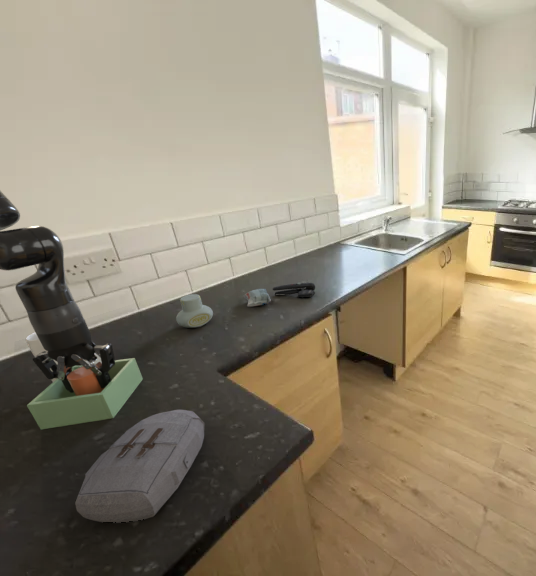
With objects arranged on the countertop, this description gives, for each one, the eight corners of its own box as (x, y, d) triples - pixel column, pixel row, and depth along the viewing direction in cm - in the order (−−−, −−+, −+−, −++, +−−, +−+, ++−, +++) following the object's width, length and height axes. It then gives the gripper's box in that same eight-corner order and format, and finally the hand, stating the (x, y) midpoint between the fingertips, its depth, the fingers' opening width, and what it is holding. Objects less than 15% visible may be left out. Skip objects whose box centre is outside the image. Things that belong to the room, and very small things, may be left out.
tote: (40, 429, 67) (26, 405, 65) (82, 387, 79) (71, 365, 77) (113, 418, 70) (102, 394, 67) (143, 379, 82) (134, 357, 79)
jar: (75, 410, 71) (60, 381, 68) (90, 393, 76) (77, 366, 73) (102, 406, 72) (89, 377, 69) (116, 390, 77) (104, 362, 74)
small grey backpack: (168, 525, 49) (223, 424, 67) (151, 488, 46) (214, 392, 64) (67, 531, 48) (150, 428, 67) (43, 494, 45) (137, 396, 64)
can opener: (318, 292, 132) (317, 279, 130) (313, 299, 125) (311, 286, 123) (277, 291, 134) (275, 279, 132) (270, 298, 127) (268, 285, 125)
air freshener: (209, 314, 115) (202, 289, 112) (218, 321, 110) (211, 295, 106) (175, 325, 108) (167, 299, 104) (183, 334, 103) (175, 306, 99)
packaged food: (248, 311, 117) (246, 299, 115) (244, 300, 126) (241, 288, 125) (272, 306, 121) (270, 294, 119) (266, 295, 130) (264, 284, 128)
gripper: (109, 311, 71) (134, 373, 78) (33, 319, 69) (65, 382, 75) (88, 327, 64) (117, 393, 71) (3, 337, 62) (41, 405, 68)
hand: (90, 387), depth 73 cm, fingers open, 5 cm apart
